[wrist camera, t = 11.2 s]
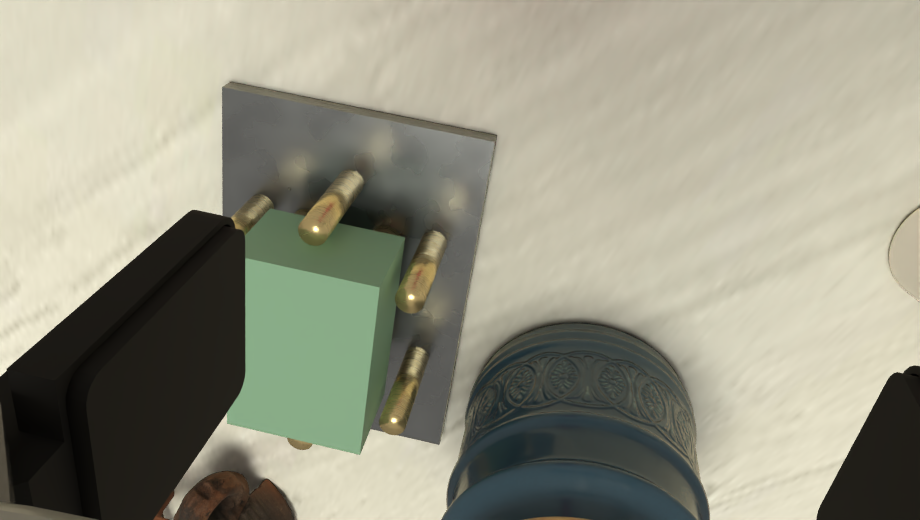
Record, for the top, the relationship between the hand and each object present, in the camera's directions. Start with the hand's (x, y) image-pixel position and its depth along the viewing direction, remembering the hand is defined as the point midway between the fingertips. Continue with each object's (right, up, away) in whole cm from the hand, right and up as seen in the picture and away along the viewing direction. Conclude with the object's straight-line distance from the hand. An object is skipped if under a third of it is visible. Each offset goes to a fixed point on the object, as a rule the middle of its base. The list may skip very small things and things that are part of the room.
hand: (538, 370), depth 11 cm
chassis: (-8, +1, +33) cm, 34 cm away
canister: (+6, -7, +35) cm, 36 cm away
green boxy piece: (-8, -1, +30) cm, 31 cm away
